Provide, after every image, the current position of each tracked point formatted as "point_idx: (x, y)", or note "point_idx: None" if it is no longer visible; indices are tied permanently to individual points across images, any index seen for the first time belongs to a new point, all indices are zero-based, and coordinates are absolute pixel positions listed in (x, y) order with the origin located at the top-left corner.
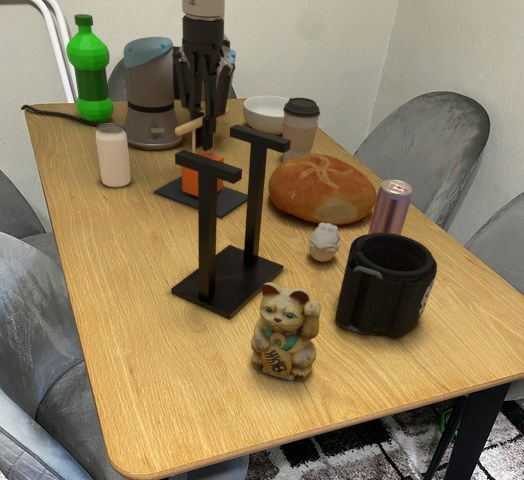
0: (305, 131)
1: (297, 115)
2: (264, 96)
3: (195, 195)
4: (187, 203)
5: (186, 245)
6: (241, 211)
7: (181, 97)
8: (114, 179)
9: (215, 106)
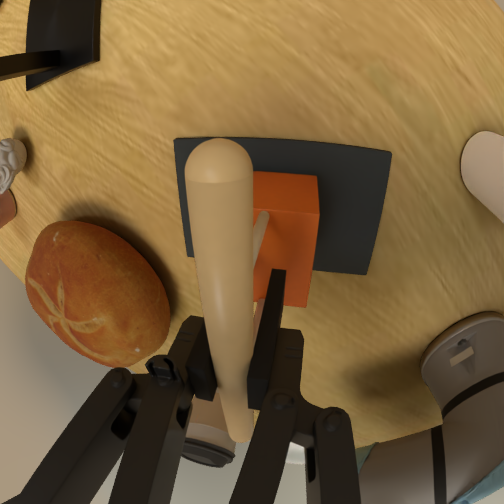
0: None
1: (191, 440)
2: None
3: (271, 172)
4: (277, 140)
5: (165, 4)
6: (167, 194)
7: (347, 457)
8: (485, 136)
9: (104, 410)
